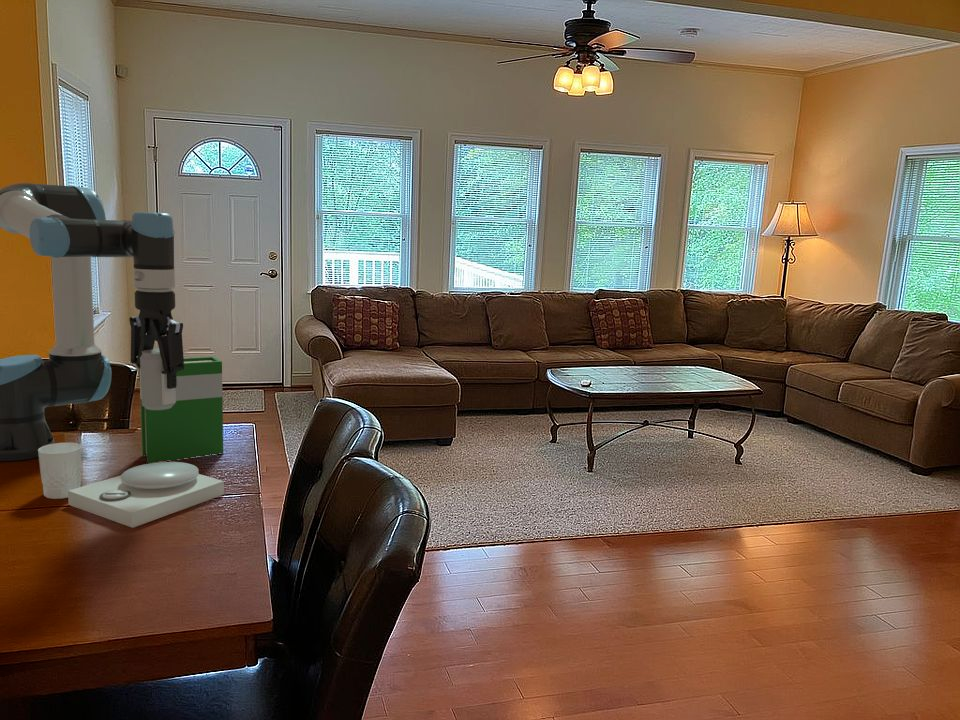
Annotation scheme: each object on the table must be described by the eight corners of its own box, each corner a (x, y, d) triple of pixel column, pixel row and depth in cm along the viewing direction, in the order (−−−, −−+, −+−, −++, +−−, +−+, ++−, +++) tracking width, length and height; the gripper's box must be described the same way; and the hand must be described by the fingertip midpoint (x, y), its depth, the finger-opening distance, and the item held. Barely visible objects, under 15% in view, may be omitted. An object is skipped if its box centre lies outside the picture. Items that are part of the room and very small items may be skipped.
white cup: (44, 503, 147) (41, 455, 146) (37, 491, 153) (34, 445, 151) (87, 495, 152) (85, 449, 151) (79, 484, 158) (77, 440, 156)
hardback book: (147, 464, 173) (144, 365, 169) (142, 455, 180) (139, 360, 175) (223, 454, 183) (221, 361, 179) (215, 446, 189) (214, 356, 185)
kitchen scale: (68, 504, 147) (67, 481, 146) (162, 475, 166) (161, 454, 165) (132, 527, 137) (131, 502, 137) (224, 494, 156) (223, 472, 156)
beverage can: (162, 412, 147) (161, 354, 145) (134, 409, 148) (132, 351, 146) (181, 405, 153) (180, 349, 151) (154, 402, 155) (152, 347, 152)
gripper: (107, 286, 148) (112, 397, 152) (170, 294, 139) (173, 411, 143) (140, 285, 154) (144, 391, 158) (202, 292, 145) (204, 404, 149)
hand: (158, 400), depth 151 cm, fingers closed on beverage can, 6 cm apart
